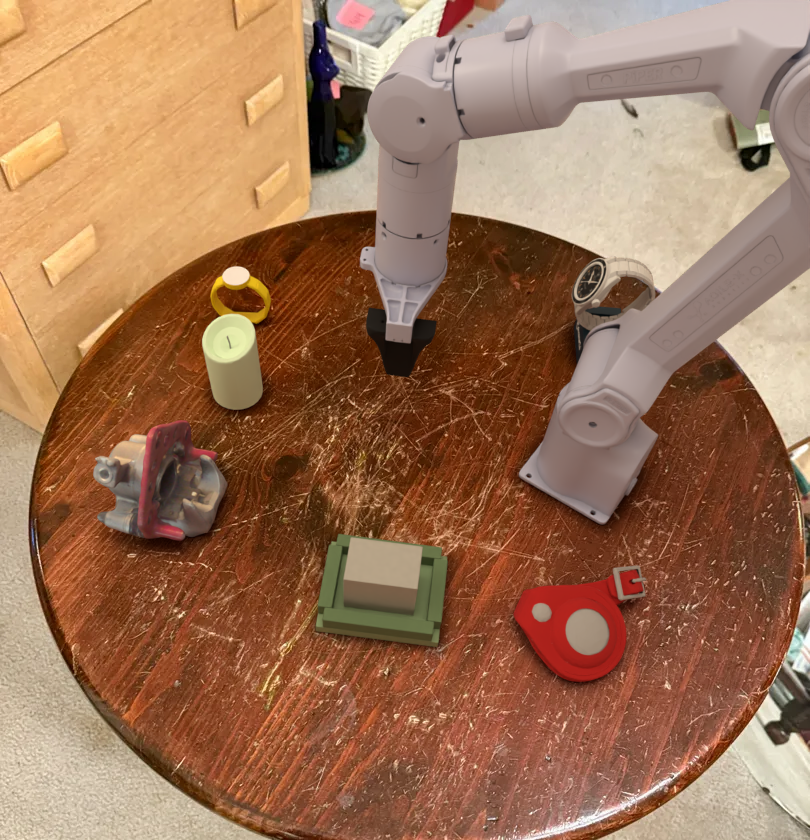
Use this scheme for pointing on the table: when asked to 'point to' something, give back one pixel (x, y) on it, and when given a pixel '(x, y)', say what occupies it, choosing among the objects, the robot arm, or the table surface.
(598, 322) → the watch
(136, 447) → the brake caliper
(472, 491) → the table surface
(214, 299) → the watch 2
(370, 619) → the green tray
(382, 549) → the grey beige block
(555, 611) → the tracker holder
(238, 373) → the candle
